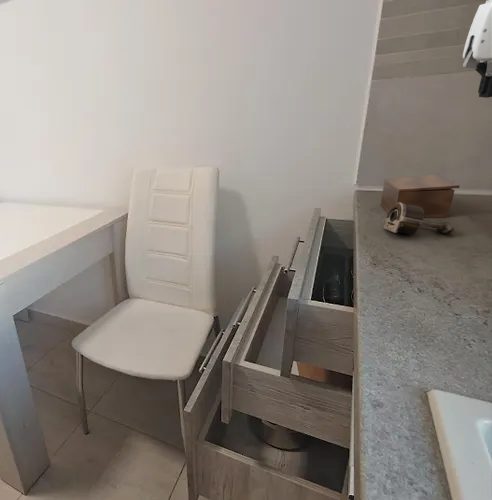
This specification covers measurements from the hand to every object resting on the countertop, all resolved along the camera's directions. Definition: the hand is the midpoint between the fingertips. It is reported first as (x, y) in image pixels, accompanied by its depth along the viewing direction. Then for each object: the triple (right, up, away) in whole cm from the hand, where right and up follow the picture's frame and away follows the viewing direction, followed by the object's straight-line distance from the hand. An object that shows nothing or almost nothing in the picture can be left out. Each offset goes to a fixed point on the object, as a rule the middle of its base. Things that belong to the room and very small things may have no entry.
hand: (487, 96), depth 76 cm
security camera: (-10, -28, +6) cm, 31 cm away
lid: (-2, -15, +16) cm, 22 cm away
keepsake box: (-2, -22, +19) cm, 29 cm away
